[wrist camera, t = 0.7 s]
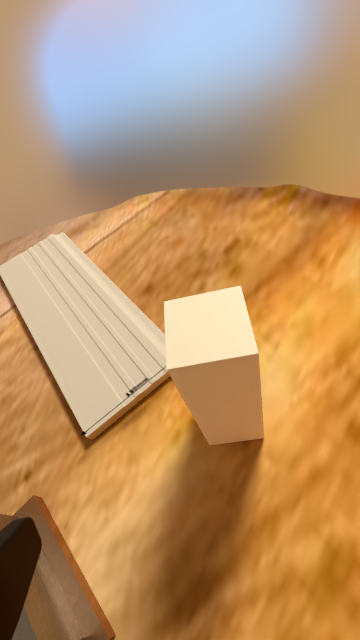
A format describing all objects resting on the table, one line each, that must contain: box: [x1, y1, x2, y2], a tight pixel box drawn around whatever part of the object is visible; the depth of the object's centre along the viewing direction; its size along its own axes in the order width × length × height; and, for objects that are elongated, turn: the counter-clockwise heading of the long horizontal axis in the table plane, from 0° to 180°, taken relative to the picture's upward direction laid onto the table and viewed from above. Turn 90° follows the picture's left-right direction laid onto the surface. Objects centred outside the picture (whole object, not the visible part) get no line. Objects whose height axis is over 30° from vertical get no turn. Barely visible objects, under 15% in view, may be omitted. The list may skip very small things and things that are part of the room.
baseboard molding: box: [0, 232, 170, 440], centre depth 35 cm, size 31×3×12 cm
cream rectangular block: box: [164, 286, 264, 445], centre depth 19 cm, size 4×4×12 cm
